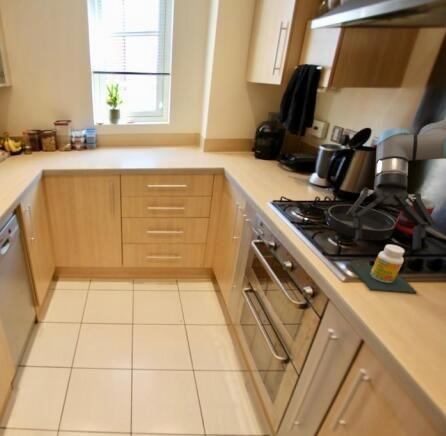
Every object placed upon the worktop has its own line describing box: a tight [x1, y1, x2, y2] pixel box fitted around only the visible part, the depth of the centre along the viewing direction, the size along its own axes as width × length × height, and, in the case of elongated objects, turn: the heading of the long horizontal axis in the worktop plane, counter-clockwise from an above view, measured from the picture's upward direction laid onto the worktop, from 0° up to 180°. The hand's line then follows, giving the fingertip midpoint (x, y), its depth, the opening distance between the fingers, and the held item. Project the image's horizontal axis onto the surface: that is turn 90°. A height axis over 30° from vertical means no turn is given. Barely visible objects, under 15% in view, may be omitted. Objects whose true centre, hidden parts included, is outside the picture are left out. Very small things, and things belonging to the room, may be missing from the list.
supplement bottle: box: [371, 244, 405, 283], centre depth 86 cm, size 5×5×10 cm
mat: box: [350, 264, 417, 295], centre depth 89 cm, size 11×11×1 cm
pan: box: [324, 204, 396, 242], centre depth 115 cm, size 20×20×4 cm
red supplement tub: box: [395, 198, 436, 236], centre depth 110 cm, size 8×8×11 cm
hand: (386, 244), depth 90 cm, fingers open, 13 cm apart
